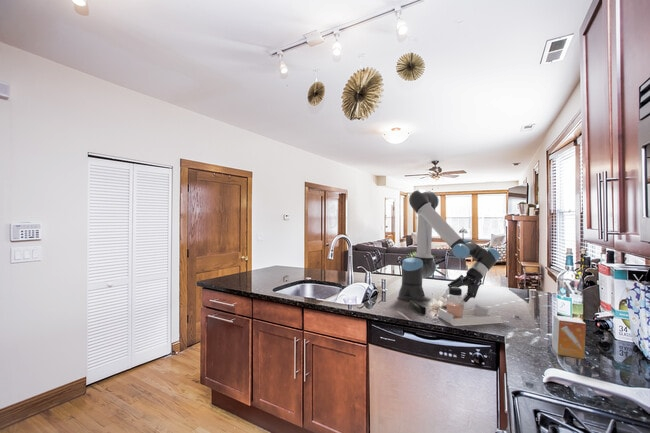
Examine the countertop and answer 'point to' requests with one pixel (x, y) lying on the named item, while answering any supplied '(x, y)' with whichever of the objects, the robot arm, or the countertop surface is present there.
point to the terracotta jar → (455, 310)
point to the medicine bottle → (454, 295)
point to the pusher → (481, 311)
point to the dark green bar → (417, 307)
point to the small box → (569, 336)
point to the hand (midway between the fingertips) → (450, 301)
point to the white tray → (468, 318)
